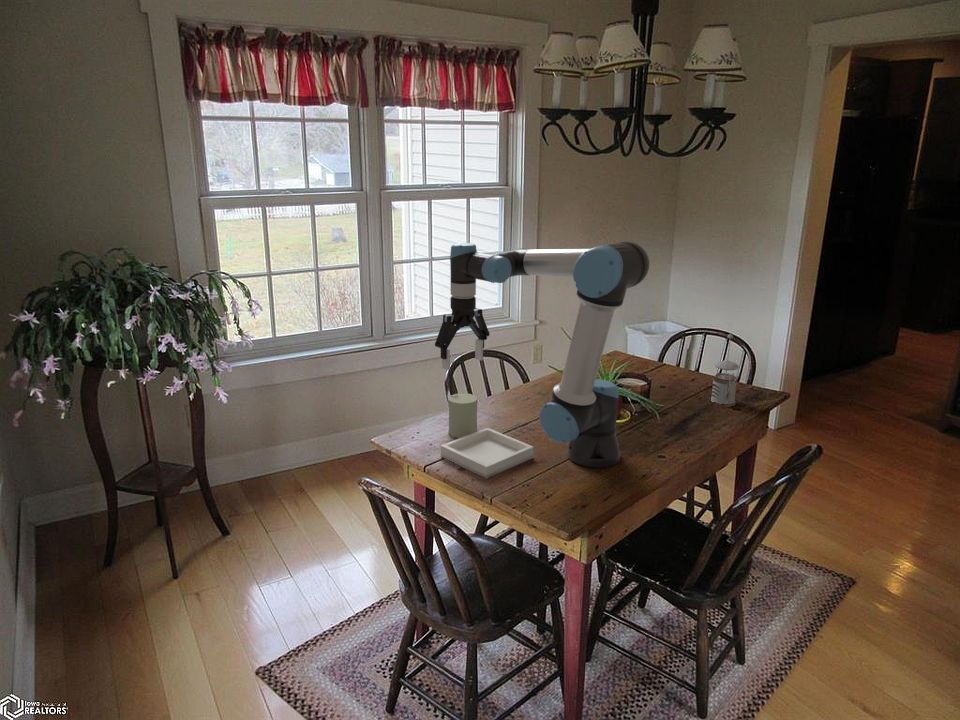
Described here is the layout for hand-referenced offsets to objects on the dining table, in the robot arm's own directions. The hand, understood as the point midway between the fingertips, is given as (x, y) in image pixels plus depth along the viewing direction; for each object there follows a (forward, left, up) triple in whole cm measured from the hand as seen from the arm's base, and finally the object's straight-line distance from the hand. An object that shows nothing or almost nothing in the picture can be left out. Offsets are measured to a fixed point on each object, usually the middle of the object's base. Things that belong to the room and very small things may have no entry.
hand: (462, 364), depth 210 cm
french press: (-44, -84, -23) cm, 97 cm away
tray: (-18, +7, -23) cm, 30 cm away
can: (0, 0, -23) cm, 23 cm away
